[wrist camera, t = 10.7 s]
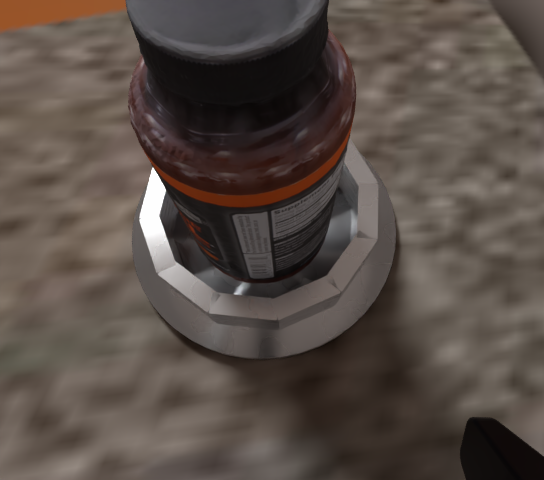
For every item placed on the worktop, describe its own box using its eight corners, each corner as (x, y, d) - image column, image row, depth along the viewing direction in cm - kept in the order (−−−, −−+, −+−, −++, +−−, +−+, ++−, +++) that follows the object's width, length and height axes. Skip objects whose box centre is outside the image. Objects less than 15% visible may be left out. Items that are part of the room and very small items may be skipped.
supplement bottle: (176, 204, 19) (31, -55, 8) (286, 151, 19) (282, -144, 9) (233, 314, 16) (136, 152, 6) (353, 248, 17) (450, 7, 7)
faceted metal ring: (440, 200, 19) (461, 170, 16) (293, 424, 15) (293, 427, 13) (242, 89, 22) (236, 52, 20) (82, 253, 18) (52, 231, 16)
